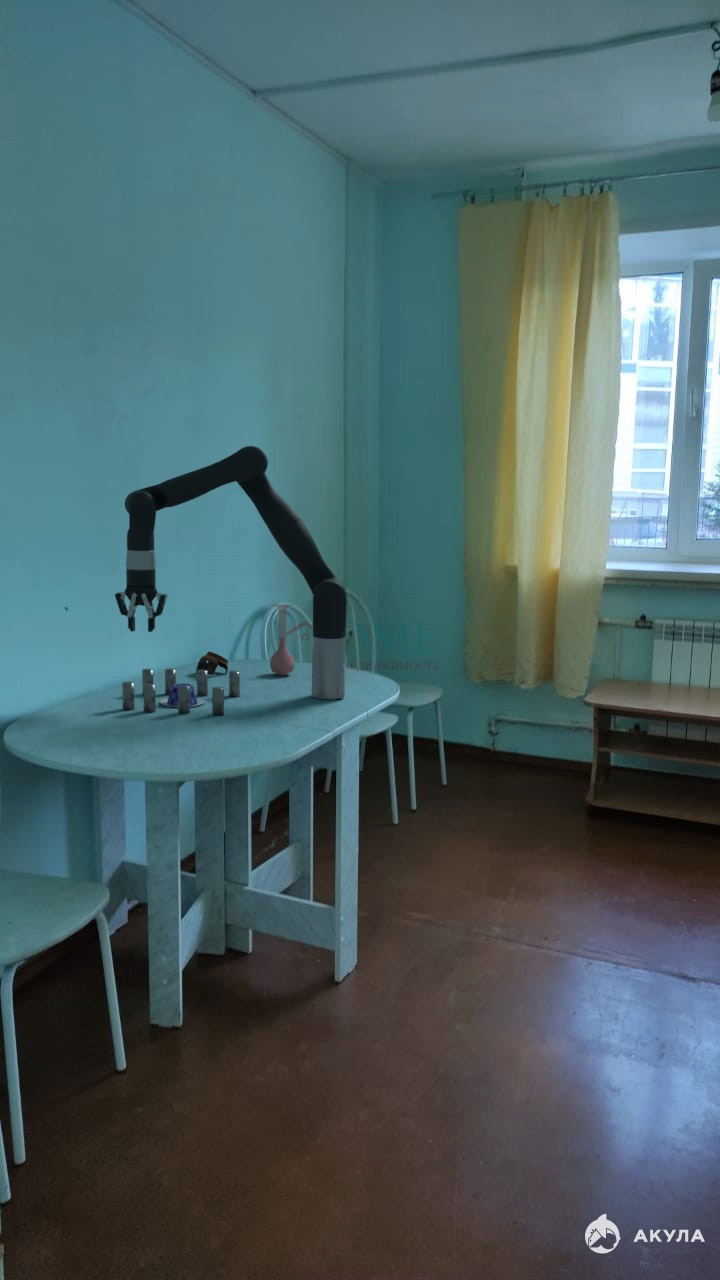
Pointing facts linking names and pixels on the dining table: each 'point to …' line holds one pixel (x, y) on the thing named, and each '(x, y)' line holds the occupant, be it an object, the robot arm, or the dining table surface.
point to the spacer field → (180, 691)
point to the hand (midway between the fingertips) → (141, 631)
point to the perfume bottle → (282, 660)
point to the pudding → (173, 697)
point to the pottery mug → (212, 663)
